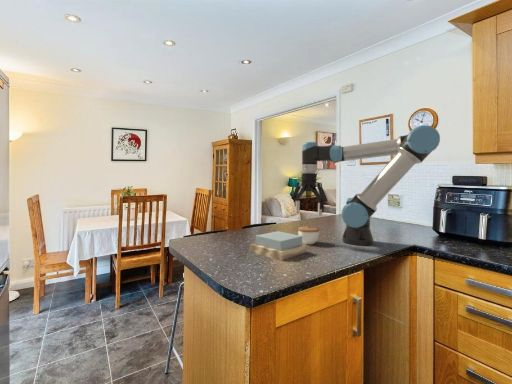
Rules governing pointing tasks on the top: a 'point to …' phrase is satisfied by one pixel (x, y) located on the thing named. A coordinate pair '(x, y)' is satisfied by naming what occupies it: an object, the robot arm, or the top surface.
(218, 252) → the top surface
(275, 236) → the tower top
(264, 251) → the tower base
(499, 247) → the top surface
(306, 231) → the lidded jar
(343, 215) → the robot arm
